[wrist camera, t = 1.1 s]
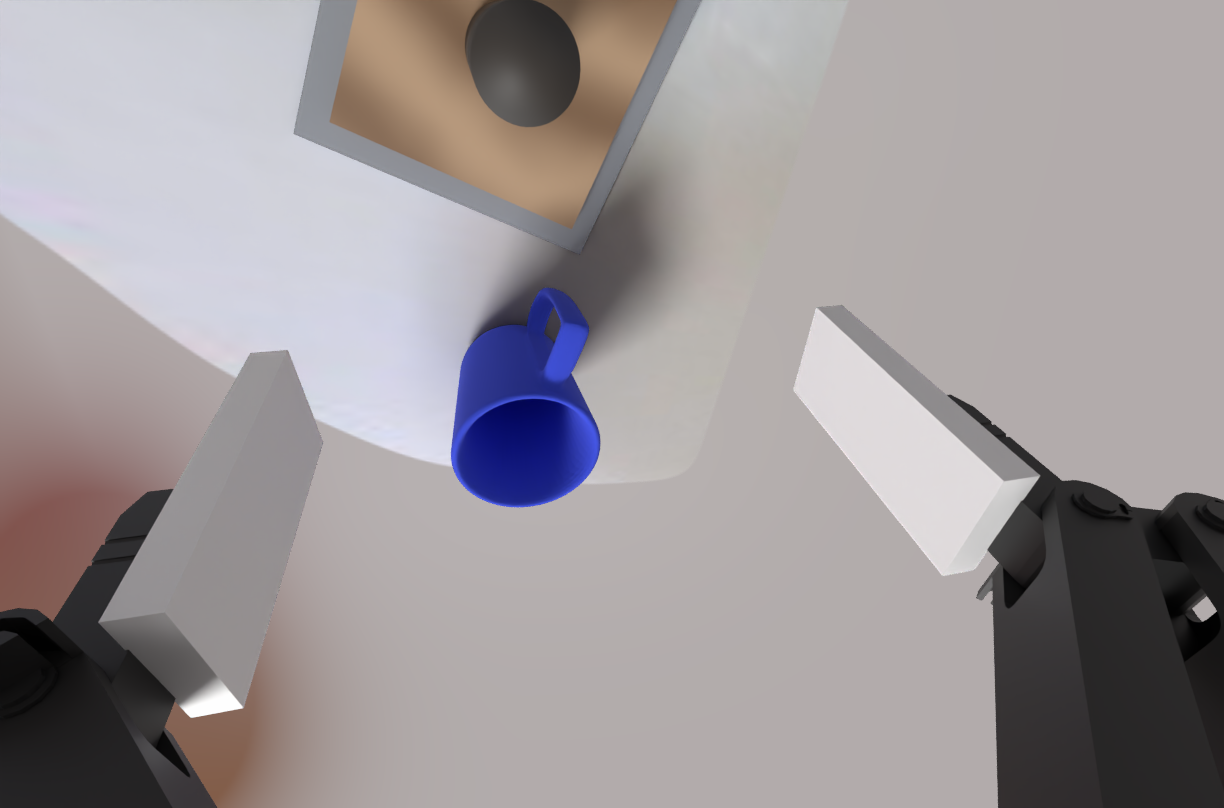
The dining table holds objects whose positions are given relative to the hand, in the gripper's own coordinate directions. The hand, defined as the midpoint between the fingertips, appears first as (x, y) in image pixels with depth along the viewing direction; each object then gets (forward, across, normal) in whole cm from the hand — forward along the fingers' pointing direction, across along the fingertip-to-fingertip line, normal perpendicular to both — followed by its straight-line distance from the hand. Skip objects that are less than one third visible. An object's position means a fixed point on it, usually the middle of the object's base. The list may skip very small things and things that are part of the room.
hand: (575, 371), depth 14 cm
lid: (+21, 0, +5) cm, 22 cm away
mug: (+21, 0, -11) cm, 24 cm away
